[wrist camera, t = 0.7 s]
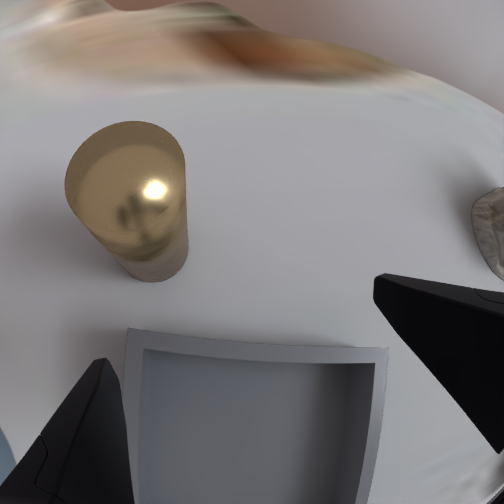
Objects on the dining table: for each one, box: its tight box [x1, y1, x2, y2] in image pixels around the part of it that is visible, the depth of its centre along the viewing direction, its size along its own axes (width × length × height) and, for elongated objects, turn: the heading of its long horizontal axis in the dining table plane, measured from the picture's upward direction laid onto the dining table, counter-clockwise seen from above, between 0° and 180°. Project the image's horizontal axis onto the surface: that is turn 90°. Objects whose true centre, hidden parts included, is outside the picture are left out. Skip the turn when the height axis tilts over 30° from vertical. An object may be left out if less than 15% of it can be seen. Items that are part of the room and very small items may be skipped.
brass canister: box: [65, 121, 188, 283], centre depth 17 cm, size 5×5×11 cm
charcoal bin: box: [122, 328, 389, 504], centre depth 17 cm, size 16×16×4 cm
